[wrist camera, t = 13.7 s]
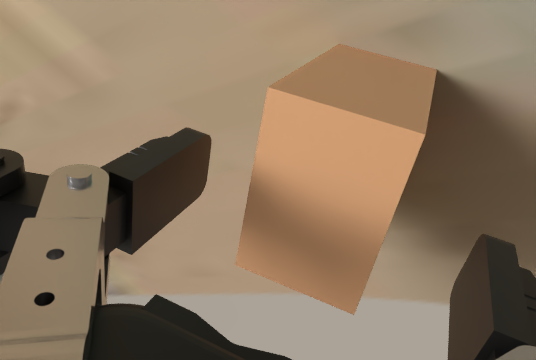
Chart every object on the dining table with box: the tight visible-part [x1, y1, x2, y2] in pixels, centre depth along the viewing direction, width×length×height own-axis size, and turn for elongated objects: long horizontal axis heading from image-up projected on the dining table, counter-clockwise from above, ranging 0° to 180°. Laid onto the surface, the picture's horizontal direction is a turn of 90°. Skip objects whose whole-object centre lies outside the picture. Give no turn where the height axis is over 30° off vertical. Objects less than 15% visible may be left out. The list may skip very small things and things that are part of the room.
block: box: [235, 44, 437, 315], centre depth 15 cm, size 4×6×8 cm, turn 169°
